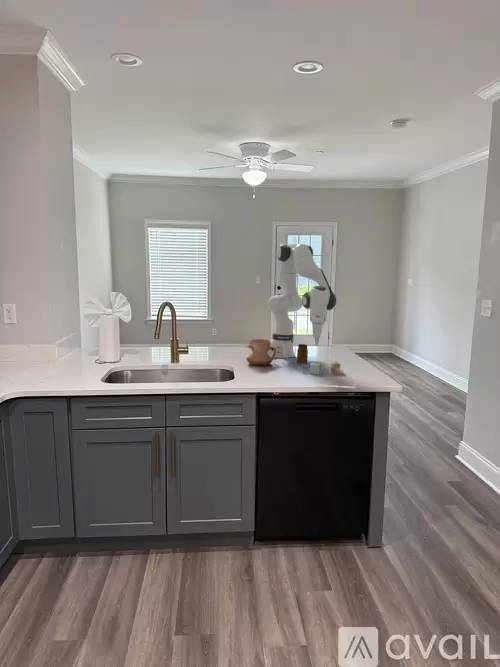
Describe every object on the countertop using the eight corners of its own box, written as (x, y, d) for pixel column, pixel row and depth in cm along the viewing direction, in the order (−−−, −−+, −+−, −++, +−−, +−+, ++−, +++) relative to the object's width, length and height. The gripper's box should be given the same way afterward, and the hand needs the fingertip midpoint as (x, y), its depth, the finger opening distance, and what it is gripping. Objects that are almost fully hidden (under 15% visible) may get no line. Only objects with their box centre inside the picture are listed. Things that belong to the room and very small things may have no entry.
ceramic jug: (243, 366, 245) (244, 342, 243) (246, 361, 259) (247, 337, 257) (275, 368, 243) (276, 343, 241) (276, 362, 257) (277, 339, 255)
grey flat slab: (300, 375, 229) (300, 373, 228) (303, 368, 243) (303, 366, 243) (343, 378, 224) (343, 376, 224) (342, 371, 239) (343, 369, 239)
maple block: (330, 372, 231) (331, 363, 231) (330, 370, 236) (331, 361, 235) (340, 373, 230) (340, 364, 230) (340, 371, 235) (340, 362, 234)
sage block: (309, 373, 229) (310, 364, 228) (310, 371, 233) (310, 362, 233) (319, 374, 228) (319, 365, 227) (319, 372, 233) (319, 363, 232)
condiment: (303, 363, 258) (304, 343, 256) (311, 366, 250) (312, 345, 248) (293, 364, 255) (294, 344, 253) (301, 367, 247) (302, 346, 245)
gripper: (313, 315, 237) (312, 339, 239) (311, 319, 217) (309, 346, 219) (324, 315, 235) (323, 340, 238) (323, 320, 216) (322, 347, 218)
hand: (317, 343), depth 228 cm, fingers open, 8 cm apart
